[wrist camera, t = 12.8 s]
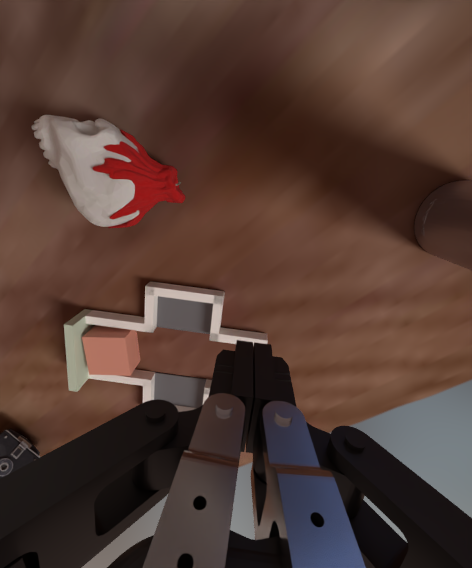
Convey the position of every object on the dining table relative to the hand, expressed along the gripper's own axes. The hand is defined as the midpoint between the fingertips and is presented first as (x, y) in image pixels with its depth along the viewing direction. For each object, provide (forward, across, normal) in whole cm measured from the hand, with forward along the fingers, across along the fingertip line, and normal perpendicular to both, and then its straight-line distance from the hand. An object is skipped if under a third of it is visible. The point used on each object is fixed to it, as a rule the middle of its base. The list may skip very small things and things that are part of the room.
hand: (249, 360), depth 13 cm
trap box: (+27, +9, +18) cm, 34 cm away
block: (+27, +18, +18) cm, 37 cm away
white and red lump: (+27, +16, -6) cm, 32 cm away
